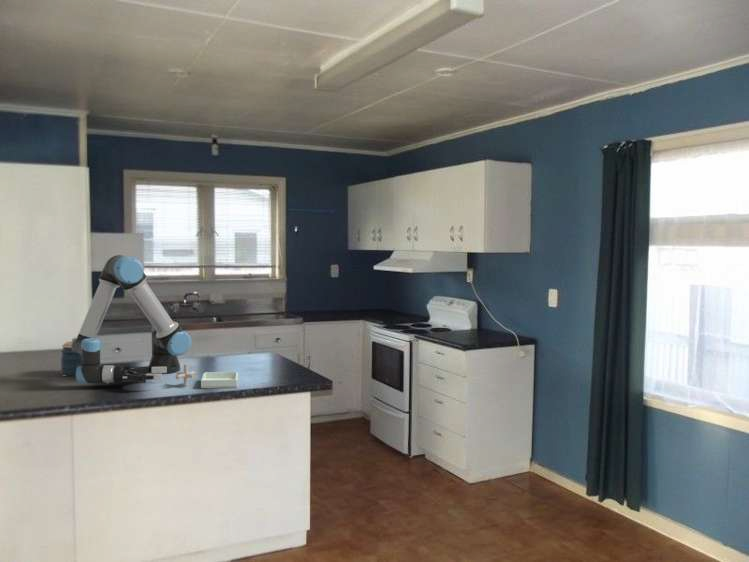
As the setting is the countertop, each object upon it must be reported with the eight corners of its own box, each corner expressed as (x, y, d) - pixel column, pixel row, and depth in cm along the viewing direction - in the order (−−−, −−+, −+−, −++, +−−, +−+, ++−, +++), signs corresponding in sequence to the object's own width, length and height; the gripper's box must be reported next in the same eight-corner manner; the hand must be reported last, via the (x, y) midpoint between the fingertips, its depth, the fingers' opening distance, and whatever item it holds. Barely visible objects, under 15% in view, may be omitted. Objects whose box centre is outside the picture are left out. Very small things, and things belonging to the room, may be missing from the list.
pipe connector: (184, 389, 284) (184, 367, 283) (169, 386, 289) (169, 364, 288) (202, 385, 292) (201, 363, 291) (186, 382, 297) (186, 360, 297)
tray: (200, 388, 286) (200, 380, 286) (204, 380, 301) (204, 372, 301) (236, 388, 289) (236, 379, 288) (238, 379, 304) (238, 371, 304)
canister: (54, 375, 303) (53, 338, 302) (75, 370, 315) (75, 334, 314) (75, 378, 299) (75, 341, 297) (96, 372, 311) (96, 336, 309)
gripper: (120, 375, 297) (168, 374, 301) (107, 389, 273) (159, 388, 276) (120, 359, 297) (168, 359, 300) (107, 372, 272) (159, 371, 276)
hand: (164, 373), depth 288 cm, fingers open, 13 cm apart
